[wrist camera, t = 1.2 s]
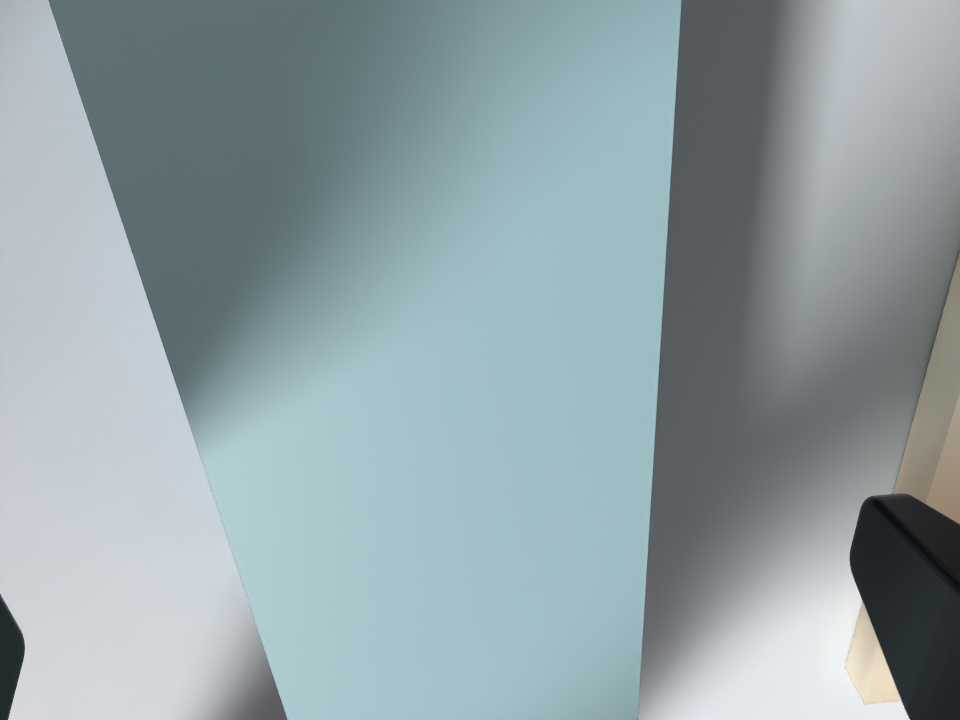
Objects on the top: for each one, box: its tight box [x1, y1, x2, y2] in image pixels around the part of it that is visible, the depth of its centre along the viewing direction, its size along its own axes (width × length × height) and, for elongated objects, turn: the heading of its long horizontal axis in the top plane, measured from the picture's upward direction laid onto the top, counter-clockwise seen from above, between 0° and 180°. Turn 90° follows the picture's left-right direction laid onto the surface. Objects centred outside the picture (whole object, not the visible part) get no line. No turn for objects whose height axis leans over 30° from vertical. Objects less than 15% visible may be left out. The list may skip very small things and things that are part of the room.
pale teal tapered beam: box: [49, 0, 681, 720], centre depth 11 cm, size 17×5×5 cm, turn 4°
